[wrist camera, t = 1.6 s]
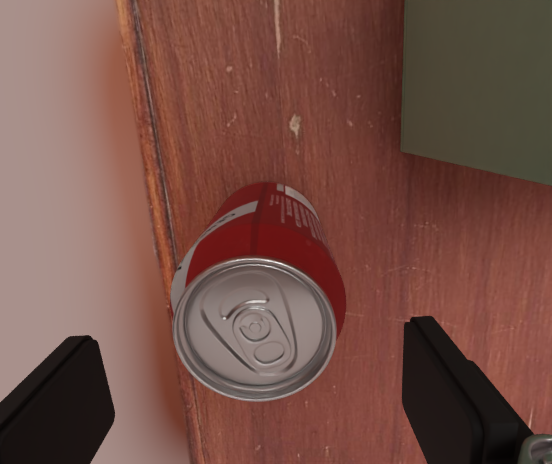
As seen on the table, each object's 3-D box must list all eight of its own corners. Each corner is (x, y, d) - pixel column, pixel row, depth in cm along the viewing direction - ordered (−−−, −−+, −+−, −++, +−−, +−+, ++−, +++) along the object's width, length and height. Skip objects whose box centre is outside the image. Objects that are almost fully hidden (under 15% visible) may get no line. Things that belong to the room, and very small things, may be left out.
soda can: (293, 161, 22) (305, 203, 10) (335, 254, 24) (385, 376, 12) (198, 207, 23) (113, 290, 11) (245, 292, 25) (213, 440, 13)
